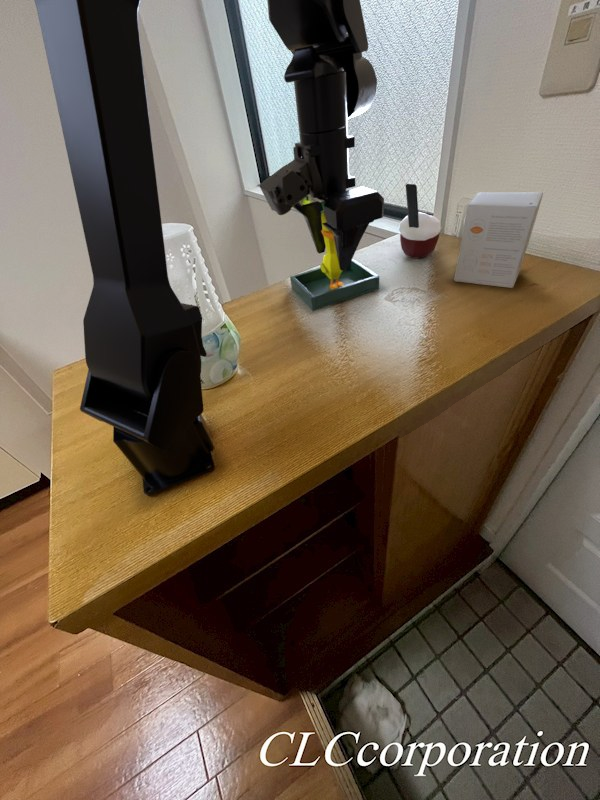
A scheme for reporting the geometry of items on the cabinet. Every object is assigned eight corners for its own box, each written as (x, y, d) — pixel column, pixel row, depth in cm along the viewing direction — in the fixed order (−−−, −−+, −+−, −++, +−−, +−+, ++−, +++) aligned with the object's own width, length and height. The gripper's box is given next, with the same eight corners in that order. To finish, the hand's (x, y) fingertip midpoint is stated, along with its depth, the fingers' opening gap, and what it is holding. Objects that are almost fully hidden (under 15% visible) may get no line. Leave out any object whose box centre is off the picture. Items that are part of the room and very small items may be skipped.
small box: (519, 272, 50) (545, 191, 43) (513, 289, 47) (539, 205, 40) (462, 266, 54) (477, 190, 47) (452, 281, 51) (467, 203, 44)
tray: (312, 311, 50) (311, 298, 49) (291, 288, 56) (289, 276, 55) (379, 289, 52) (379, 276, 51) (352, 269, 58) (351, 257, 57)
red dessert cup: (423, 242, 63) (432, 165, 54) (449, 251, 58) (464, 169, 50) (382, 258, 60) (384, 179, 52) (406, 269, 56) (414, 185, 48)
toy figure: (359, 291, 51) (356, 202, 43) (339, 299, 50) (332, 210, 42) (335, 278, 56) (328, 195, 48) (316, 285, 55) (306, 202, 47)
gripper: (238, 138, 45) (263, 255, 56) (287, 151, 32) (306, 301, 43) (315, 121, 47) (324, 238, 58) (389, 128, 34) (383, 277, 45)
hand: (331, 260), depth 51 cm, fingers closed on toy figure, 7 cm apart
